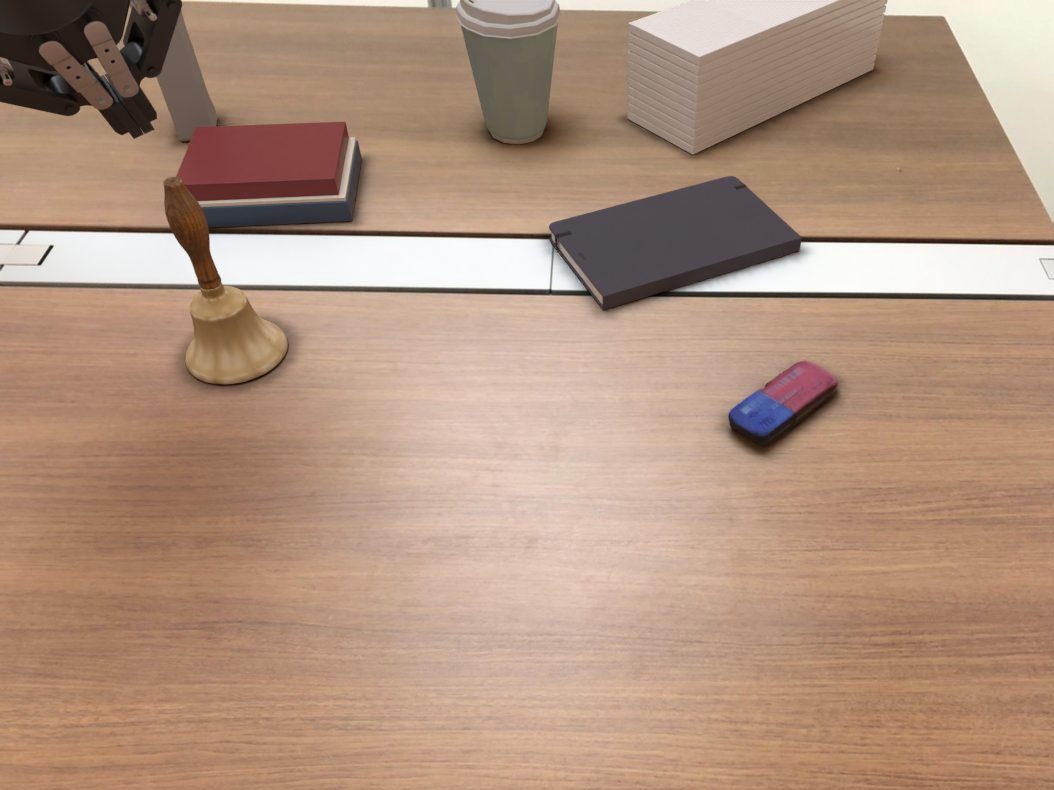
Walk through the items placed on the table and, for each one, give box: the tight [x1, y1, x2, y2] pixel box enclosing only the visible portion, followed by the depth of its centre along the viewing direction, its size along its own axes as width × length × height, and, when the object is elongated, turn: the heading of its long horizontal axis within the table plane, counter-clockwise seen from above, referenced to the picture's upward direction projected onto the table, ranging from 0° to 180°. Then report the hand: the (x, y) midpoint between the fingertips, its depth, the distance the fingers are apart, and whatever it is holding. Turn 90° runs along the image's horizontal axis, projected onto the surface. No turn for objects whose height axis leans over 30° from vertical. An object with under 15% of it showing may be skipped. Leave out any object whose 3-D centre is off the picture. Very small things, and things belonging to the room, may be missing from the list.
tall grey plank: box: [129, 1, 218, 143], centre depth 94 cm, size 4×5×25 cm
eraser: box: [727, 360, 839, 447], centre depth 75 cm, size 11×4×2 cm, turn 135°
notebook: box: [548, 175, 803, 311], centre depth 90 cm, size 13×2×21 cm
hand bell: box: [162, 176, 289, 385], centre depth 73 cm, size 8×8×16 cm
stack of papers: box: [627, 0, 888, 155], centre depth 108 cm, size 32×11×11 cm, turn 133°
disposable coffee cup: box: [455, 0, 562, 145], centre depth 99 cm, size 11×11×15 cm
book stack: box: [175, 121, 363, 229], centre depth 94 cm, size 12×16×4 cm
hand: (137, 124), depth 61 cm, fingers closed
